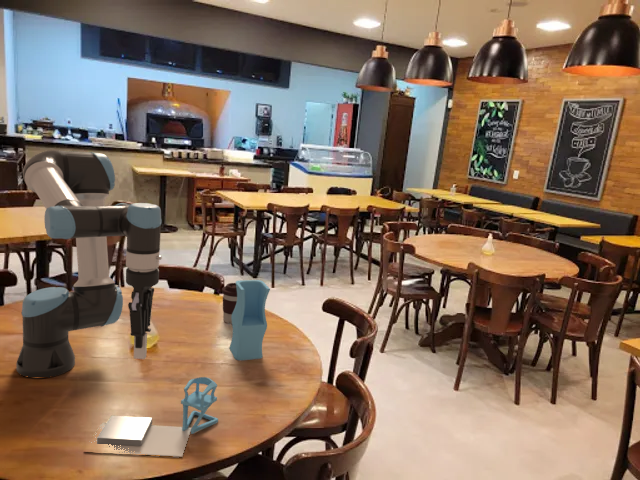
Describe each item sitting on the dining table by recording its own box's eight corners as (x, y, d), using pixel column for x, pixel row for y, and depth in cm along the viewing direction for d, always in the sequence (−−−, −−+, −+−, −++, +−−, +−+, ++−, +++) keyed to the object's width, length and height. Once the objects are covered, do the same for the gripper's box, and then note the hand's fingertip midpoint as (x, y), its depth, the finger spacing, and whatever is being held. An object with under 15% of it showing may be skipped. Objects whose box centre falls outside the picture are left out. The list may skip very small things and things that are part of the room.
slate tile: (111, 421, 118) (97, 444, 109) (111, 415, 118) (97, 437, 109) (152, 423, 119) (141, 446, 110) (152, 417, 119) (141, 440, 110)
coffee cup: (249, 321, 192) (252, 285, 189) (233, 327, 184) (235, 291, 180) (231, 314, 197) (234, 279, 194) (214, 320, 189) (217, 284, 185)
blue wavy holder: (235, 360, 157) (241, 289, 152) (229, 348, 166) (234, 280, 161) (264, 358, 161) (270, 288, 156) (256, 345, 170) (261, 279, 165)
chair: (174, 427, 118) (178, 383, 116) (193, 413, 126) (197, 371, 124) (200, 437, 116) (204, 391, 114) (218, 421, 123) (223, 379, 122)
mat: (83, 452, 107) (83, 451, 107) (102, 423, 117) (102, 422, 117) (182, 457, 109) (182, 456, 109) (191, 428, 119) (191, 427, 119)
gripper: (150, 276, 108) (147, 371, 113) (165, 262, 121) (162, 347, 125) (117, 274, 107) (115, 368, 112) (135, 259, 120) (133, 345, 125)
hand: (140, 357), depth 119 cm, fingers closed
